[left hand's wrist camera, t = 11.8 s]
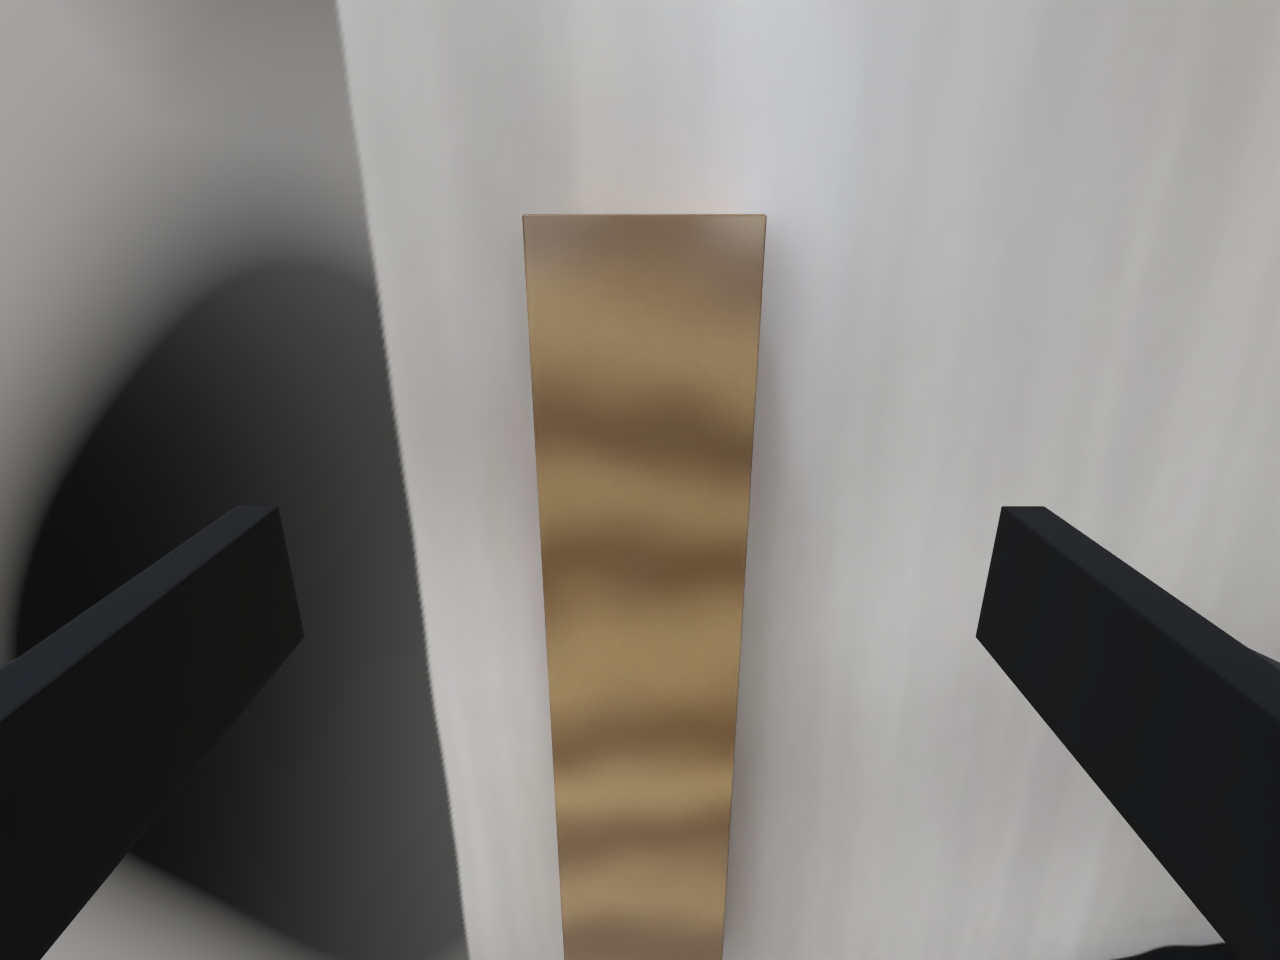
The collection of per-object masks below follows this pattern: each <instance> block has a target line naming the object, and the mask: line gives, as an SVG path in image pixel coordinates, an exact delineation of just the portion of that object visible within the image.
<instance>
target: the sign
mask: <svg viewBox="0 0 1280 960" xmlns="http://www.w3.org/2000/svg"><path fill="white" fill-rule="evenodd" d="M1130 960H1239V958H1238V957H1237V956H1236V955H1235V953H1234V952H1233V951H1232V950H1231V948H1230V947H1229V946H1228V945H1221V946H1215V947H1208V948H1168V949H1163V950H1159V951H1156V952H1153V953H1150V954H1147V955H1145V956H1141V957H1138V958H1135V959H1130Z"/></svg>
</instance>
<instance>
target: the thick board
mask: <svg viewBox="0 0 1280 960" xmlns="http://www.w3.org/2000/svg"><path fill="white" fill-rule="evenodd" d="M522 220H523V238H524V255H525V273H526V291H527V308H528V326H529V344H530V361H531V379H532V397H533V414H534V432H535V450H536V467H537V485H538V503H539V520H540V538H541V556H542V573H543V591H544V609H545V626H546V644H547V662H548V679H549V697H550V715H551V732H552V750H553V767H554V785H555V803H556V820H557V838H558V856H559V873H560V891H561V909H562V926H563V944H564V960H722V950H723V934H724V917H725V900H726V884H727V867H728V850H729V834H730V817H731V800H732V784H733V767H734V750H735V734H736V717H737V700H738V684H739V667H740V651H741V634H742V617H743V601H744V584H745V567H746V551H747V534H748V517H749V501H750V484H751V467H752V451H753V434H754V417H755V401H756V384H757V367H758V351H759V334H760V317H761V301H762V284H763V267H764V251H765V234H766V215H765V214H672V215H523V216H522Z"/></svg>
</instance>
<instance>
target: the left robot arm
mask: <svg viewBox="0 0 1280 960" xmlns="http://www.w3.org/2000/svg"><path fill="white" fill-rule="evenodd" d="M303 638H304V633H303V628H302V623H301V618H300V613H299V608H298V603H297V598H296V593H295V588H294V583H293V578H292V573H291V568H290V563H289V558H288V553H287V548H286V543H285V538H284V533H283V528H282V523H281V518H280V513H279V508H278V506H266V507H265V506H239V507H237V506H236V507H234V508H233V509H232V510H230V511H229V512H227V513H226V514H224V515H223V516H221V517H220V518H219V519H217V520H216V521H214V522H213V523H211V524H210V525H209V526H207V527H206V528H204V529H203V530H201V531H200V532H199V533H197V534H196V535H194V536H193V537H191V538H190V539H188V540H187V541H185V542H184V543H183V544H181V545H180V546H178V547H177V548H175V549H174V550H173V551H171V552H170V553H168V554H167V555H165V556H164V557H162V558H161V559H160V560H158V561H157V562H155V563H154V564H152V565H151V566H150V567H148V568H147V569H145V570H144V571H142V572H141V573H139V574H138V575H137V576H135V577H134V578H132V579H131V580H129V581H128V582H126V583H125V584H124V585H122V586H121V587H119V588H118V589H116V590H115V591H114V592H112V593H111V594H109V595H108V596H106V597H105V598H103V599H102V600H101V601H99V602H98V603H96V604H95V605H93V606H92V607H91V608H89V609H88V610H86V611H85V612H83V613H82V614H80V615H79V616H77V617H76V618H75V619H73V620H72V621H70V622H69V623H67V624H66V625H65V626H63V627H62V628H60V629H59V630H57V631H56V632H54V633H53V634H52V635H50V636H49V637H47V638H46V639H44V640H43V641H41V642H40V643H39V644H37V645H36V646H34V647H33V648H31V649H30V650H29V651H27V652H26V653H24V654H23V655H21V656H20V657H18V658H16V659H14V660H12V661H10V662H7V663H5V664H3V665H1V666H0V960H40V959H41V958H42V957H43V956H44V955H45V953H46V952H47V951H48V950H49V948H50V947H51V946H52V945H53V944H54V942H55V941H56V940H57V939H58V937H59V936H60V935H61V934H62V932H63V931H64V930H65V929H66V928H67V926H68V925H69V924H70V923H71V922H72V920H73V919H74V918H75V917H76V915H77V914H78V913H79V912H80V910H81V909H82V908H83V907H84V906H85V904H86V903H87V902H88V901H89V899H90V898H91V897H92V896H93V895H94V893H95V892H96V891H97V890H98V888H99V887H100V886H101V885H102V884H103V882H104V881H105V880H106V879H107V877H108V876H109V875H110V874H111V873H112V871H113V870H114V869H115V868H116V866H117V865H118V864H119V863H120V862H121V860H122V859H123V858H124V857H125V855H126V854H127V853H128V852H129V851H130V849H131V848H132V847H133V846H134V844H135V843H136V842H137V841H138V840H139V838H140V837H141V836H142V835H143V833H144V832H145V831H146V830H147V829H148V827H149V826H150V825H151V824H152V822H153V821H154V820H155V819H156V818H157V816H158V815H159V814H160V813H161V811H162V810H163V809H164V808H165V806H166V805H167V804H168V803H169V802H170V800H171V799H172V798H173V797H174V796H175V794H176V793H177V792H178V791H179V789H180V788H181V787H182V786H183V784H184V783H185V782H186V781H187V780H188V778H189V777H190V776H191V775H192V773H193V772H194V771H195V770H196V769H197V767H198V766H199V765H200V764H201V762H202V761H203V760H204V759H205V758H206V756H207V755H208V754H209V753H210V751H211V750H212V749H213V748H214V747H215V745H216V744H217V743H218V742H219V740H220V739H221V738H222V737H223V736H224V734H225V733H226V732H227V731H228V729H229V728H230V727H231V726H232V725H233V723H234V722H235V721H236V720H237V718H238V717H239V716H240V715H241V713H242V712H243V711H244V710H245V709H246V707H247V706H248V705H249V704H250V703H251V701H252V700H253V699H254V698H255V696H256V695H257V694H258V693H259V691H260V690H261V689H262V688H263V687H264V685H265V684H266V683H267V682H268V680H269V679H270V678H271V677H272V676H273V674H274V673H275V672H276V671H277V669H278V668H279V667H280V666H281V664H282V663H283V662H284V661H285V660H286V658H287V657H288V656H289V655H290V654H291V652H292V651H293V650H294V649H295V647H296V646H297V645H298V644H299V642H300V641H301V640H302V639H303ZM976 638H977V639H978V640H979V641H980V643H981V644H982V645H983V646H984V647H985V649H986V650H987V651H988V652H989V654H990V655H991V656H992V657H993V658H994V660H995V661H996V662H997V663H998V665H999V666H1000V667H1001V668H1002V669H1003V671H1004V672H1005V673H1006V674H1007V676H1008V677H1009V678H1010V679H1011V681H1012V682H1013V683H1014V684H1015V685H1016V687H1017V688H1018V689H1019V690H1020V692H1021V693H1022V694H1023V695H1024V696H1025V698H1026V699H1027V700H1028V701H1029V703H1030V704H1031V705H1032V706H1033V707H1034V709H1035V710H1036V711H1037V712H1038V714H1039V715H1040V716H1041V717H1042V718H1043V720H1044V721H1045V722H1046V723H1047V725H1048V726H1049V727H1050V728H1051V729H1052V731H1053V732H1054V733H1055V734H1056V736H1057V737H1058V738H1059V739H1060V740H1061V742H1062V743H1063V744H1064V745H1065V747H1066V748H1067V749H1068V750H1069V751H1070V753H1071V754H1072V755H1073V756H1074V758H1075V759H1076V760H1077V761H1078V762H1079V764H1080V765H1081V766H1082V767H1083V769H1084V770H1085V771H1086V772H1087V774H1088V775H1089V776H1090V777H1091V778H1092V780H1093V781H1094V782H1095V783H1096V785H1097V786H1098V787H1099V788H1100V789H1101V791H1102V792H1103V793H1104V794H1105V796H1106V797H1107V798H1108V799H1109V800H1110V802H1111V803H1112V804H1113V805H1114V807H1115V808H1116V809H1117V810H1118V811H1119V813H1120V814H1121V815H1122V816H1123V818H1124V819H1125V820H1126V821H1127V822H1128V824H1129V825H1130V826H1131V827H1132V829H1133V830H1134V831H1135V832H1136V833H1137V835H1138V836H1139V837H1140V838H1141V840H1142V841H1143V842H1144V843H1145V844H1146V846H1147V847H1148V848H1149V849H1150V851H1151V852H1152V853H1153V854H1154V855H1155V857H1156V858H1157V859H1158V860H1159V862H1160V863H1161V864H1162V865H1163V867H1164V868H1165V869H1166V870H1167V871H1168V873H1169V874H1170V875H1171V876H1172V878H1173V879H1174V880H1175V881H1176V882H1177V884H1178V885H1179V886H1180V887H1181V889H1182V890H1183V891H1184V892H1185V893H1186V895H1187V896H1188V897H1189V898H1190V900H1191V901H1192V902H1193V903H1194V904H1195V906H1196V907H1197V908H1198V909H1199V911H1200V912H1201V913H1202V914H1203V915H1204V917H1205V918H1206V919H1207V920H1208V922H1209V923H1210V924H1211V925H1212V926H1213V928H1214V929H1215V930H1216V931H1217V933H1218V934H1219V935H1220V936H1221V937H1222V939H1223V940H1224V941H1225V942H1226V944H1227V945H1228V946H1229V947H1230V948H1231V950H1232V951H1233V952H1234V953H1235V955H1236V956H1237V957H1238V958H1239V960H1280V663H1279V662H1277V661H1275V660H1273V659H1271V658H1268V657H1266V656H1264V655H1262V654H1260V653H1258V652H1256V651H1254V650H1251V649H1249V648H1247V647H1246V646H1244V645H1243V644H1241V643H1240V642H1239V641H1237V640H1236V639H1234V638H1233V637H1231V636H1230V635H1228V634H1227V633H1226V632H1224V631H1223V630H1221V629H1220V628H1218V627H1217V626H1215V625H1214V624H1213V623H1211V622H1210V621H1208V620H1207V619H1205V618H1204V617H1203V616H1201V615H1200V614H1198V613H1197V612H1195V611H1194V610H1192V609H1191V608H1190V607H1188V606H1187V605H1185V604H1184V603H1182V602H1181V601H1179V600H1178V599H1177V598H1175V597H1174V596H1172V595H1171V594H1169V593H1168V592H1167V591H1165V590H1164V589H1162V588H1161V587H1159V586H1158V585H1156V584H1155V583H1154V582H1152V581H1151V580H1149V579H1148V578H1146V577H1145V576H1143V575H1142V574H1141V573H1139V572H1138V571H1136V570H1135V569H1133V568H1132V567H1131V566H1129V565H1128V564H1126V563H1125V562H1123V561H1122V560H1120V559H1119V558H1118V557H1116V556H1115V555H1113V554H1112V553H1110V552H1109V551H1107V550H1106V549H1105V548H1103V547H1102V546H1100V545H1099V544H1097V543H1096V542H1095V541H1093V540H1092V539H1090V538H1089V537H1087V536H1086V535H1084V534H1083V533H1082V532H1080V531H1079V530H1077V529H1076V528H1074V527H1073V526H1071V525H1070V524H1069V523H1067V522H1066V521H1064V520H1063V519H1061V518H1060V517H1059V516H1057V515H1056V514H1054V513H1053V512H1051V511H1050V510H1048V509H1047V508H1046V507H1044V506H1002V508H1001V513H1000V518H999V523H998V528H997V533H996V538H995V543H994V548H993V553H992V558H991V563H990V568H989V573H988V578H987V583H986V588H985V593H984V598H983V603H982V608H981V613H980V618H979V623H978V628H977V633H976Z"/></svg>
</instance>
